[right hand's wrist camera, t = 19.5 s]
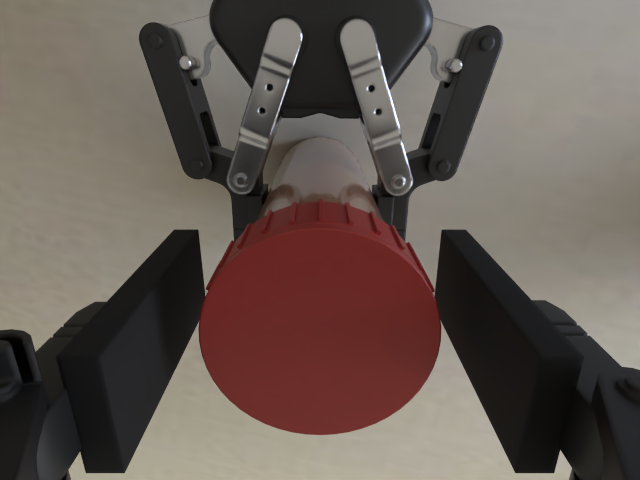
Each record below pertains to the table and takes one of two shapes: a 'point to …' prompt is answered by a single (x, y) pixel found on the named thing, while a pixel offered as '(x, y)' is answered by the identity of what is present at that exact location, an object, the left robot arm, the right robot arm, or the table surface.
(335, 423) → the lid
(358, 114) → the left robot arm
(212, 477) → the table surface
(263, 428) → the table surface
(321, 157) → the jar
